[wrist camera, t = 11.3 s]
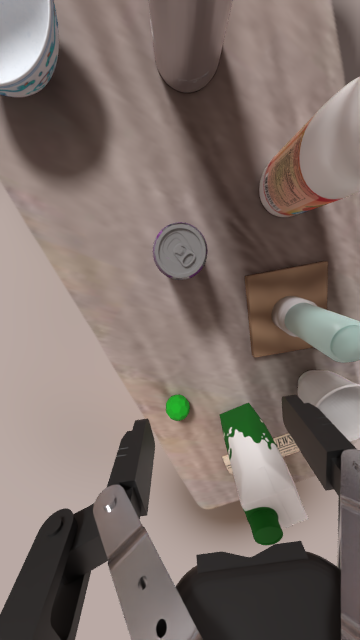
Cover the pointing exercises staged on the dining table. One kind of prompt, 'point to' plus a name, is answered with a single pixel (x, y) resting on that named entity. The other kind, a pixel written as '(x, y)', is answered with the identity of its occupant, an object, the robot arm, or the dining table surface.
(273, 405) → the dining table surface
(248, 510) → the milk carton
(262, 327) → the stud base
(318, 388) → the teacup
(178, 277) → the beverage can
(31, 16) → the chinaware
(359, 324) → the pale green cylinder
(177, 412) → the polyhedron
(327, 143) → the strawberry yogurt bottle
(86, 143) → the dining table surface
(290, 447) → the newspaper
